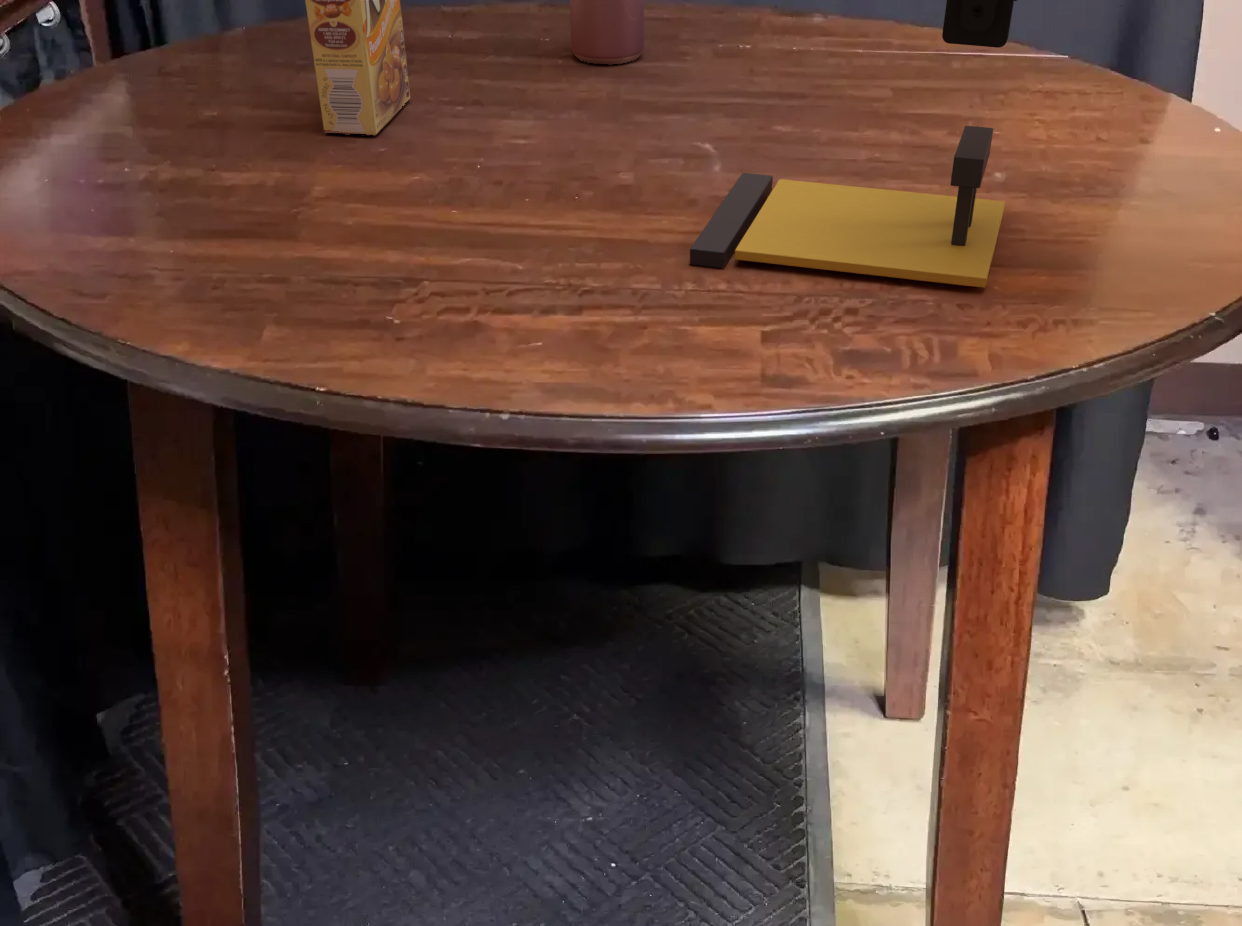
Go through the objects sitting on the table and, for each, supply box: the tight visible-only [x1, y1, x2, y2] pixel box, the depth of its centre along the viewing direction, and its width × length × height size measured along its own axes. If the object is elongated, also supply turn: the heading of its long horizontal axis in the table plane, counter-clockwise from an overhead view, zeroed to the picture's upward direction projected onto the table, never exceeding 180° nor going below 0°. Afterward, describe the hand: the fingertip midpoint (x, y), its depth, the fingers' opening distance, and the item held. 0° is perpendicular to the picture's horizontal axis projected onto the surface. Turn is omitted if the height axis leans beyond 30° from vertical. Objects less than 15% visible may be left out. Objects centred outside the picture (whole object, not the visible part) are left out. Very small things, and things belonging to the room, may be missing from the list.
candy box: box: [304, 0, 411, 137], centre depth 98 cm, size 9×4×15 cm, turn 171°
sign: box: [734, 125, 1006, 289], centre depth 81 cm, size 14×12×6 cm
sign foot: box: [689, 172, 774, 269], centre depth 85 cm, size 2×13×1 cm, turn 163°
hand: (983, 20), depth 74 cm, fingers open, 9 cm apart
